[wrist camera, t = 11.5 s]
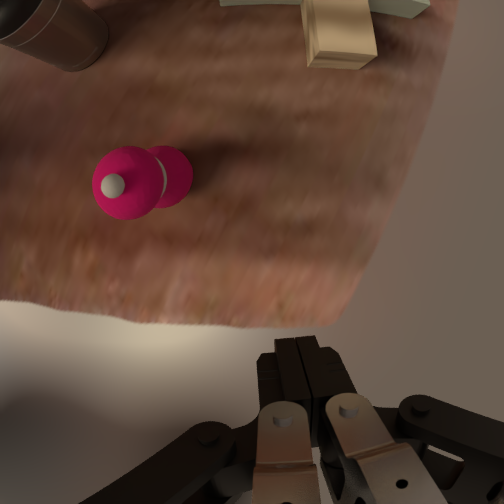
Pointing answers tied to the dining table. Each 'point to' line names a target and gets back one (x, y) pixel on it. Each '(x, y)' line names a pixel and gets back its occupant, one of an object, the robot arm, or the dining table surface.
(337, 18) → the maple block
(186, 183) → the pepper mill
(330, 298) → the dining table surface
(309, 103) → the dining table surface
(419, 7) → the green board
